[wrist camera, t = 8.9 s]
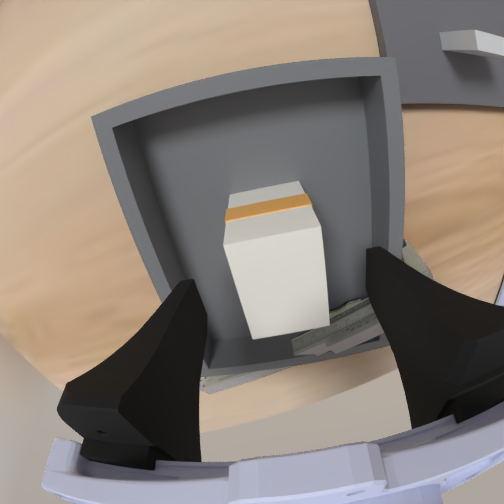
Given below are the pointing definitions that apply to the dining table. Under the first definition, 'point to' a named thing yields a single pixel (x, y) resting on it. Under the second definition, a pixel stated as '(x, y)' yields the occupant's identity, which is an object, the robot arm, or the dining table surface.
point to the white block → (277, 260)
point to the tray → (260, 183)
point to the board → (444, 49)
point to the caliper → (327, 332)
